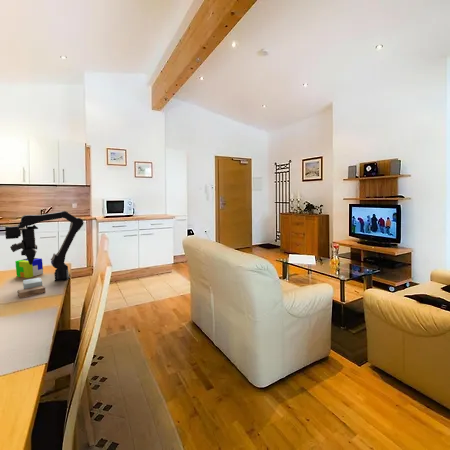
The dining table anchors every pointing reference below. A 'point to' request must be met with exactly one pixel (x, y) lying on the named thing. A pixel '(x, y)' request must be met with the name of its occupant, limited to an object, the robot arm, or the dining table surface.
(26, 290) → the board
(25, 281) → the block
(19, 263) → the puzzle toy
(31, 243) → the robot arm
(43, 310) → the dining table surface
